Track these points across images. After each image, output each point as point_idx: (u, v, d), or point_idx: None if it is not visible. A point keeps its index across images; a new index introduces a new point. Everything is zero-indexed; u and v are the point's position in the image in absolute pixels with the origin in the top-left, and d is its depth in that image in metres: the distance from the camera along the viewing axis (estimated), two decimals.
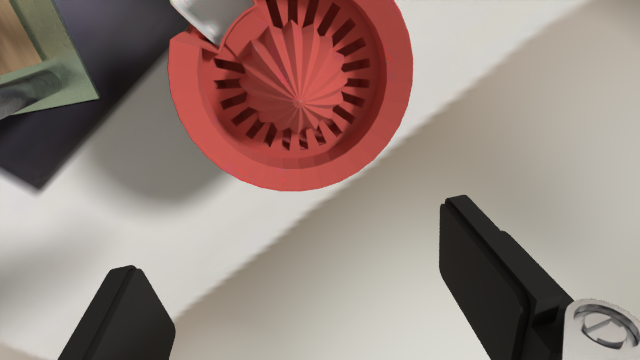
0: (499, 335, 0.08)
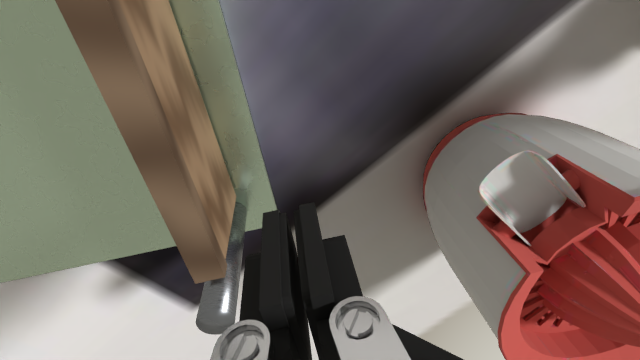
0: None
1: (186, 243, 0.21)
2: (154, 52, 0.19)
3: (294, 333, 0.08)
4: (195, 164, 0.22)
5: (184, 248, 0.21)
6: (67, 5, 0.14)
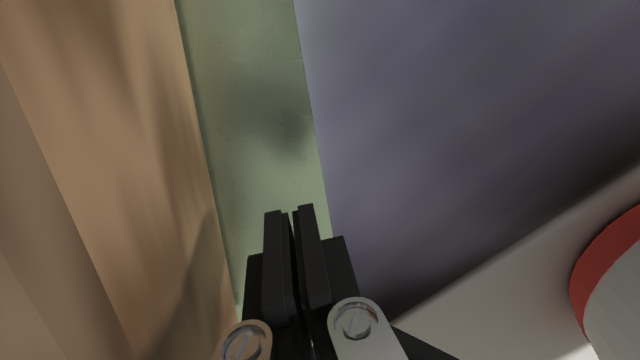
0: None
1: None
2: (117, 125, 0.07)
3: (296, 333, 0.08)
4: (184, 359, 0.10)
5: None
6: None
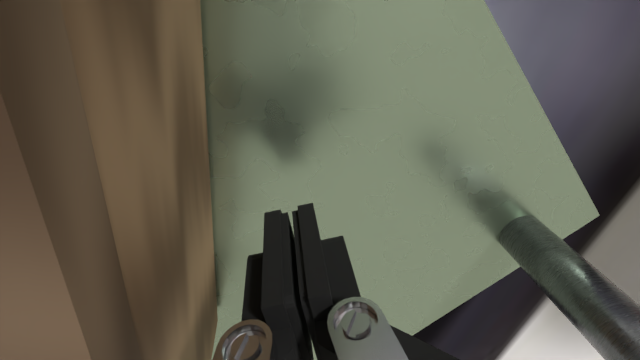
0: None
1: None
2: (146, 123, 0.07)
3: (296, 333, 0.08)
4: None
5: None
6: None
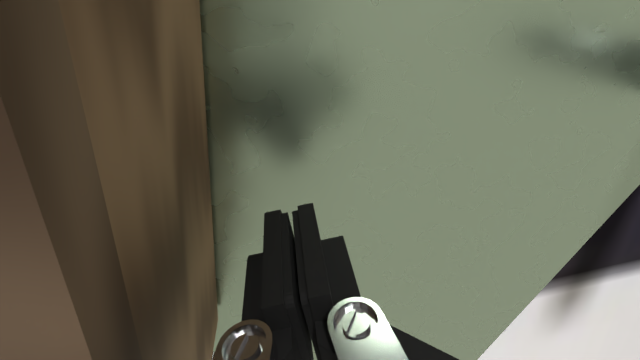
0: None
1: None
2: (146, 122, 0.07)
3: (296, 333, 0.08)
4: None
5: None
6: None
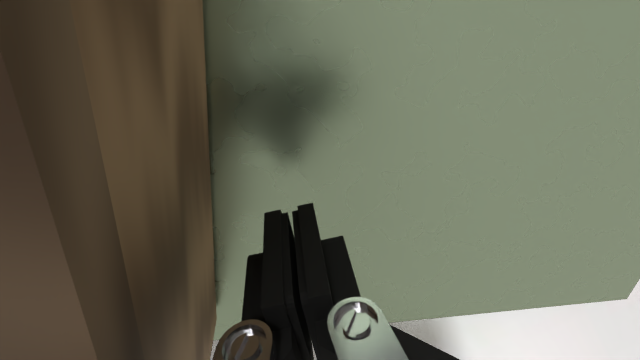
0: None
1: None
2: (150, 120, 0.07)
3: (296, 333, 0.08)
4: (174, 358, 0.10)
5: None
6: None
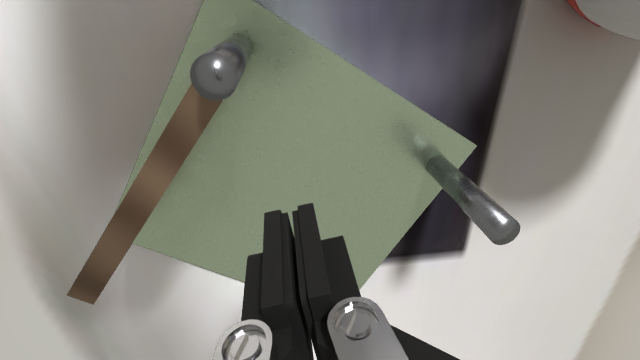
0: None
1: (92, 270, 0.25)
2: None
3: (296, 333, 0.08)
4: None
5: (86, 271, 0.25)
6: (171, 130, 0.21)
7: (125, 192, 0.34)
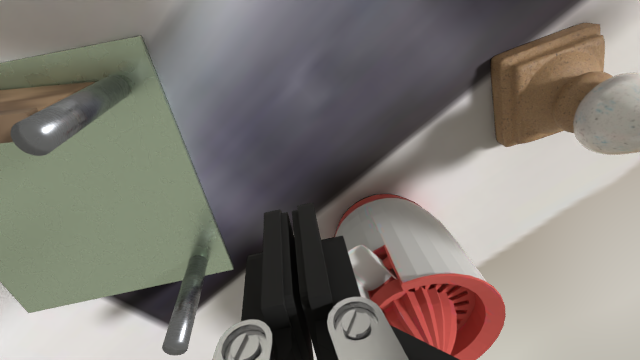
0: None
1: None
2: None
3: (296, 333, 0.08)
4: None
5: None
6: None
7: None
